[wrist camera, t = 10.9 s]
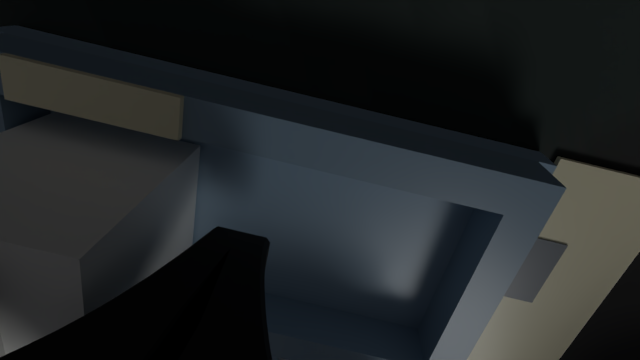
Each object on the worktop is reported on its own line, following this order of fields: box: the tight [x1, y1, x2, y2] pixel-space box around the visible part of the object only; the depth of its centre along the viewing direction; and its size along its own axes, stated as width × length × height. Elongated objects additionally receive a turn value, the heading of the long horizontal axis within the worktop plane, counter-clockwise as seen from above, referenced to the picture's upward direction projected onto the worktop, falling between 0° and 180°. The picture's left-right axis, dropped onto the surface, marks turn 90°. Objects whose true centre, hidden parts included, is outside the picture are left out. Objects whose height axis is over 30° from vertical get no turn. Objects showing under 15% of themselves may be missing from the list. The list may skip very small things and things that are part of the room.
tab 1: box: [0, 112, 200, 357], centre depth 9 cm, size 4×4×6 cm
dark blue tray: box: [0, 25, 640, 360], centre depth 13 cm, size 14×19×3 cm
